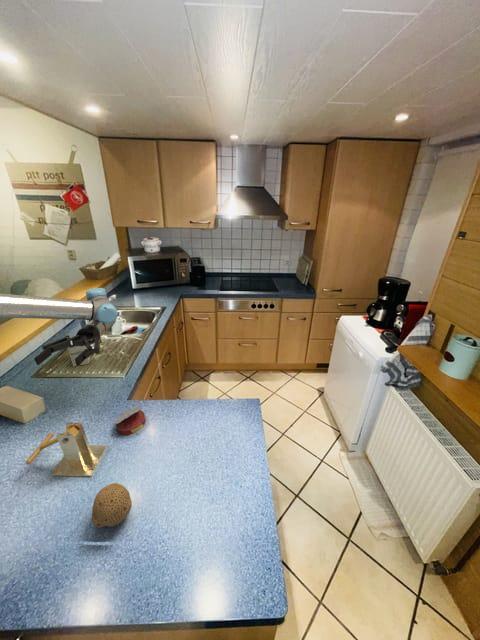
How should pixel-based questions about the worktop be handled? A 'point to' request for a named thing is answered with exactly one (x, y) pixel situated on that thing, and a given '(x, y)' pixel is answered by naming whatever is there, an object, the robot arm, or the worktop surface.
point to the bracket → (77, 454)
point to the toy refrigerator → (20, 404)
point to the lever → (49, 443)
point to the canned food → (130, 421)
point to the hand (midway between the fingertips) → (56, 362)
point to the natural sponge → (111, 505)
